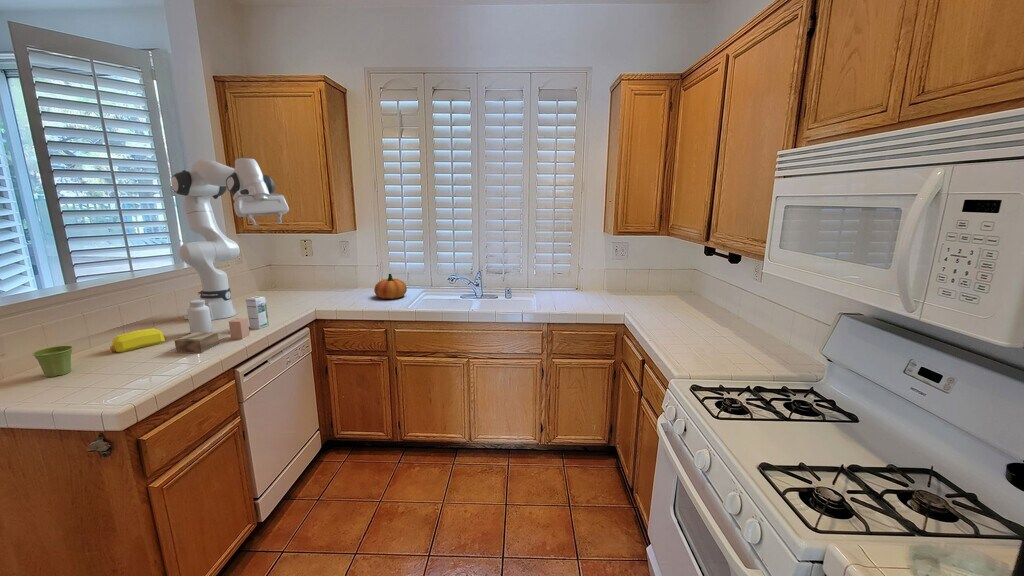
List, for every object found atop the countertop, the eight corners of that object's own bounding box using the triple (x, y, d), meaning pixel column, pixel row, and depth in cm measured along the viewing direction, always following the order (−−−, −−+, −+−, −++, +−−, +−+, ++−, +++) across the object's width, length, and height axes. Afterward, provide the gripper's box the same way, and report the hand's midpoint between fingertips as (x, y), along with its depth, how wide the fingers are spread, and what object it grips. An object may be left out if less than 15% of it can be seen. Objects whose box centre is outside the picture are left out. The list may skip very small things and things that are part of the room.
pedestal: (176, 352, 162) (174, 339, 161) (195, 343, 172) (193, 331, 171) (201, 352, 162) (199, 340, 161) (219, 344, 172) (217, 332, 171)
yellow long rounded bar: (170, 342, 174) (163, 339, 178) (168, 327, 172) (160, 324, 176) (114, 355, 159) (107, 351, 163) (110, 339, 157) (104, 335, 161)
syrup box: (259, 329, 192) (256, 299, 189) (249, 328, 193) (245, 298, 190) (269, 325, 198) (265, 296, 194) (258, 324, 199) (255, 295, 196)
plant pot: (57, 368, 146) (51, 345, 144) (85, 367, 147) (80, 345, 145) (29, 379, 137) (23, 355, 135) (60, 379, 138) (54, 354, 136)
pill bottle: (216, 331, 188) (212, 299, 185) (198, 336, 181) (193, 303, 178) (204, 329, 191) (199, 298, 188) (186, 334, 183) (181, 302, 180)
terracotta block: (231, 339, 178) (228, 321, 177) (238, 335, 183) (236, 318, 181) (242, 339, 178) (240, 321, 177) (249, 335, 183) (247, 318, 181)
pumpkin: (398, 292, 271) (397, 270, 268) (412, 297, 257) (411, 274, 254) (369, 296, 258) (368, 273, 255) (383, 302, 244) (382, 277, 241)
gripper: (280, 196, 184) (290, 224, 184) (228, 198, 168) (239, 229, 168) (285, 190, 180) (295, 219, 179) (232, 191, 164) (244, 223, 164)
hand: (268, 224), depth 174 cm, fingers open, 8 cm apart
